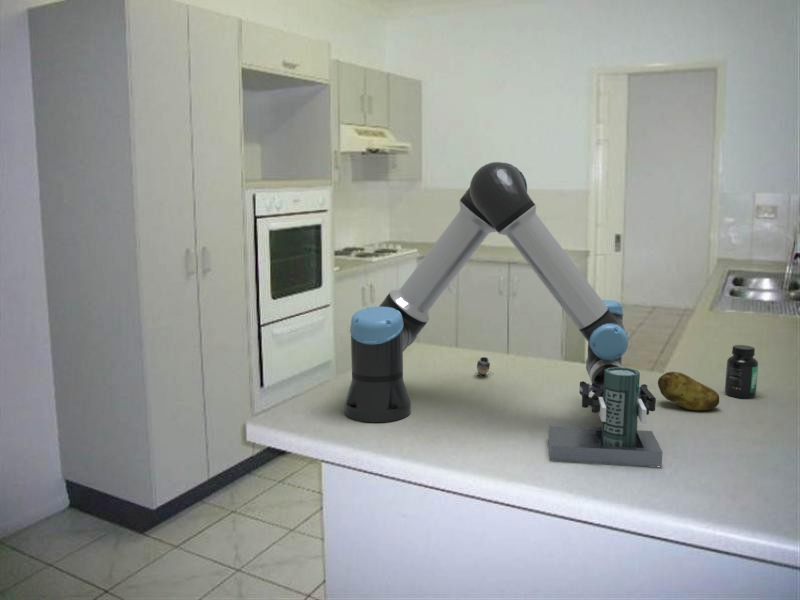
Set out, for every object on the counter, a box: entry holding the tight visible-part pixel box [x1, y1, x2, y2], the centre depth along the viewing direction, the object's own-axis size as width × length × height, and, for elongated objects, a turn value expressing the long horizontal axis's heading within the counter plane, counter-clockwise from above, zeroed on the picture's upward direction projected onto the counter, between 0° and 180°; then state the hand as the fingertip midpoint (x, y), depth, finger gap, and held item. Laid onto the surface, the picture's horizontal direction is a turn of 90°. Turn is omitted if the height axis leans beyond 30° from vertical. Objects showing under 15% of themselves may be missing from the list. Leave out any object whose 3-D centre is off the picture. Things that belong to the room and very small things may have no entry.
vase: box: [474, 357, 494, 376], centre depth 187 cm, size 5×5×6 cm
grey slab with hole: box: [548, 425, 664, 468], centre depth 135 cm, size 20×11×3 cm, turn 80°
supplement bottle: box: [724, 344, 759, 400], centre depth 170 cm, size 7×7×12 cm
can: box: [600, 366, 641, 448], centre depth 134 cm, size 6×6×15 cm
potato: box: [657, 371, 720, 411], centre depth 161 cm, size 8×13×8 cm, turn 51°
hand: (623, 415), depth 128 cm, fingers closed on can, 6 cm apart
